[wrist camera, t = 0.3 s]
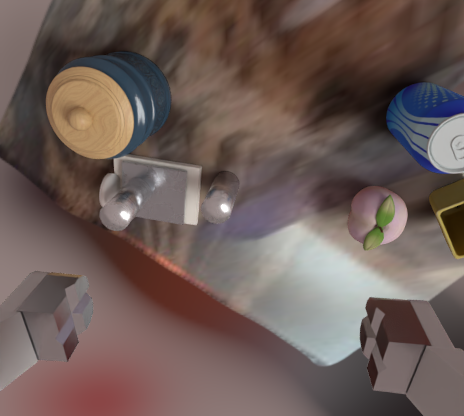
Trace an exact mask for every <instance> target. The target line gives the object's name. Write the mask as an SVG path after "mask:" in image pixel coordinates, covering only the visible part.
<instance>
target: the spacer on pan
mask: <svg viewBox="0 0 464 416" xmlns="http://www.w3.org/2000/svg"><path fill="white" fill-rule="evenodd" d="M151 194H152V190H151V187H150V185H149V184H148V182H146V181H145V180H143V179H141V178H134V179H131V180H130V181H129V182H128V183H127V184H126V185H125V186H124V187H123V188H122V189H121V190H120V191H119V192H118V193H117V194H116V195H115V196H114V197H113V198H112V199H111V200H110V201H109V202H108V203H107V204H105V205H104V206H103V207H102V209H101V210H100V219H101V221H102V223H103V224H104V225H105V226H106V227H107V228H109V229H111V230H114V231H120V230H123V229H125V228H126V227H127V225H128V224H129V223H130V222H131V221H132V219H133V218H134V217H135V216H136V214H137V213H138V212H139V211H140V209H141V208H142V207H143V206H144V204H145V203H146V202H147V201H148V199H149V198H150V197H151Z"/></svg>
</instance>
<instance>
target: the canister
mask: <svg viewBox="0 0 464 416" xmlns="http://www.w3.org/2000/svg"><path fill="white" fill-rule="evenodd" d="M170 108H171V91H170V87H169V84H168V82H167V79H166V77H165V76H164V74H163V73H162V71H161V70H160V69H159V67H158V66H157V65H156V64H154V63H153V62H152V61H151V60H149V59H148V58H146V57H144V56H142V55H139V54H137V53H133V52H127V51H120V52H113V53H110V54H107V55H96V56H92V57H83V58H78V59H75V60H73V61H71V62H69V63H67V64H66V65H65V66H64V67H63V68H62V69H61V70H60V71H59V72H58V74H57V75H56V77H55V78H54V79H53V81H52V82H51V84H50V86H49V88H48V91H47V96H46V110H47V115H48V118H49V121H50V124H51V126H52V128H53V130H54V131H55V133H56V134H57V136H58V137H59V138H60V140H61V141H62V142H63V143H64V144H65V145H66V146H68V147H69V148H70V149H71V150H73V151H75V152H76V153H78V154H80V155H82V156H85V157H88V158H93V159H116V158H120V157H123V156H126V155H128V154H129V153H131V152H132V151H133V150H135V149H136V148H137V146H139V145H140V144H142V143H143V142H144V141H145V140H146V139H147V138H148V137H149V136H151V135H153V134H154V133H156V132H157V131H158V130H159V129H160V128H161V127H162V126H163V125H164V123H165V121H166V120H167V117H168V115H169V112H170Z"/></svg>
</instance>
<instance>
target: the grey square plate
mask: <svg viewBox="0 0 464 416" xmlns="http://www.w3.org/2000/svg"><path fill="white" fill-rule="evenodd" d="M134 178H141V179H143V180H145V181H146V182H148V184H149V185H150V187H151V190H152V194H151V197H150V198H149V199H148V201H147V202H146V203H145V204H144V206H143V207H142V208H141V209H140V211H139V212H138V213H137V214H136V216H135V217H141V218H147V219H153V220H159V221H164V222H170V223H176V224H182V225H184V223H185V207H186V189H187V170H180V169H174V168H168V167H162V166H156V165H149V164H143V163H137V162H131V161H124V160H123V161H122V188H123V187H124V186H125V185H126V184H127V183H128V182H129V181H130V180H131V179H134Z"/></svg>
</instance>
